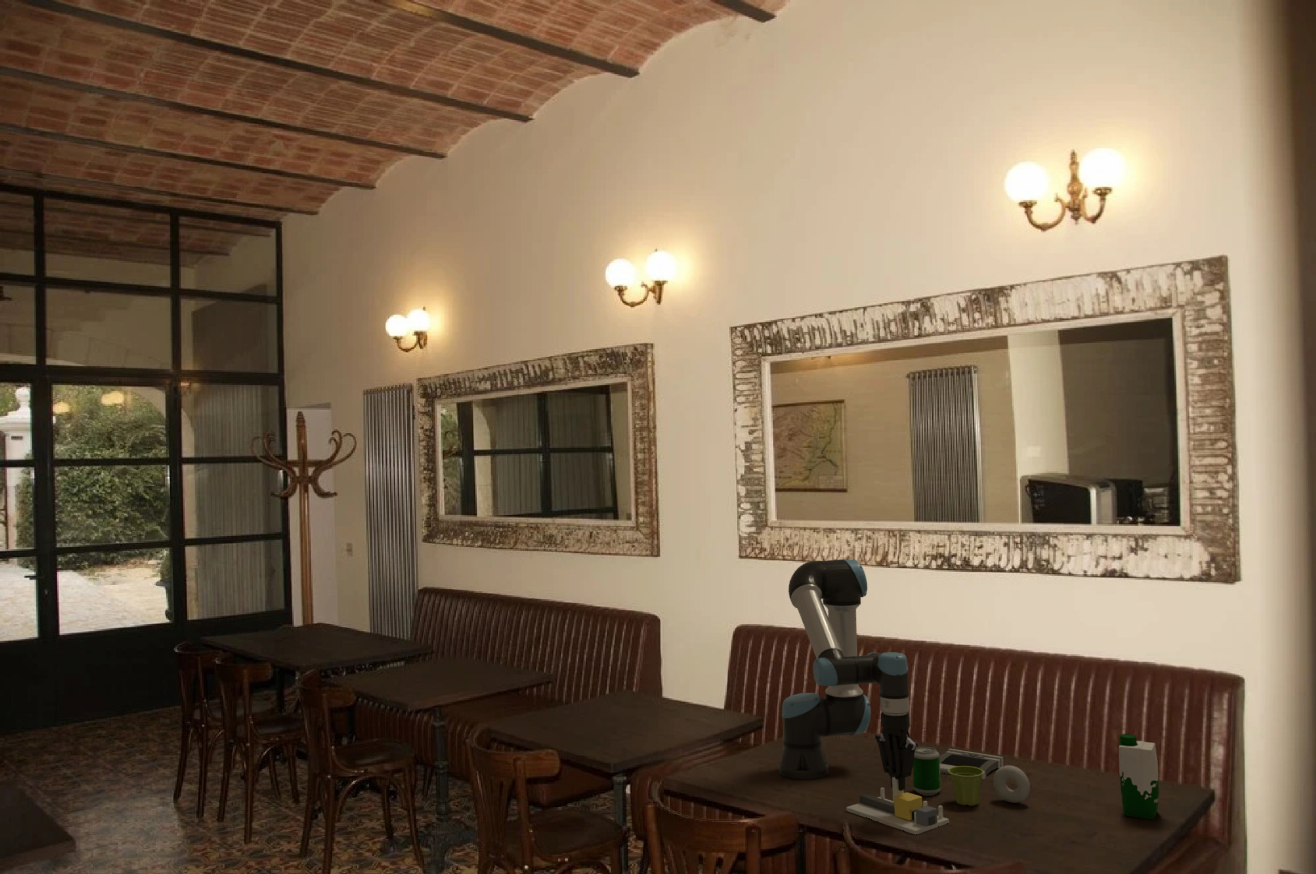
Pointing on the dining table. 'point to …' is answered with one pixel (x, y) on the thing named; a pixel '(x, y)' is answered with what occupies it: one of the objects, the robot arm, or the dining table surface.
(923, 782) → the soda can
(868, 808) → the white pegged slab
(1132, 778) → the milk carton
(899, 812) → the yellow sliding cube
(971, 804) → the plant pot
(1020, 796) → the donut
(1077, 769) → the dining table surface
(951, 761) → the alarm clock
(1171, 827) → the dining table surface
